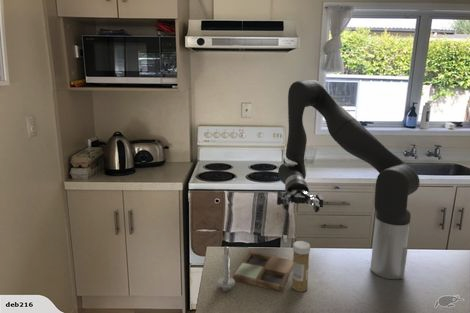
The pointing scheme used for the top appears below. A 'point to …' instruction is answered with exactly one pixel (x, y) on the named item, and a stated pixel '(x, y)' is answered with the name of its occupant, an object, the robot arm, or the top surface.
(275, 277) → the board
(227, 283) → the screw
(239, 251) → the top surface
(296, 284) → the sprinkles bottle
